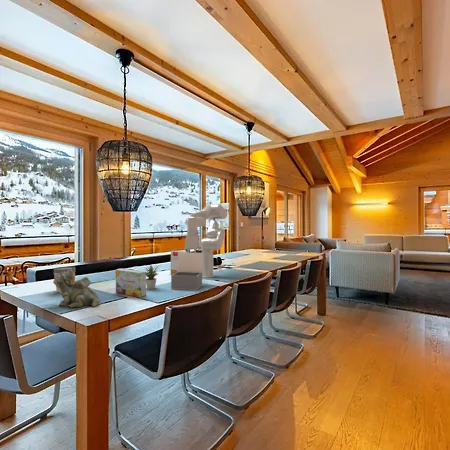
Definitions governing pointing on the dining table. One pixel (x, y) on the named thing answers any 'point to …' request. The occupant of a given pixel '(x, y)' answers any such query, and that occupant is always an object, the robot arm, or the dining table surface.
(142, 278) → the snack box
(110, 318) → the dining table surface
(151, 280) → the house plant
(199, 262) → the flap
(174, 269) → the hard drive box
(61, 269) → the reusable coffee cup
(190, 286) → the carton
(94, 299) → the sculpture
